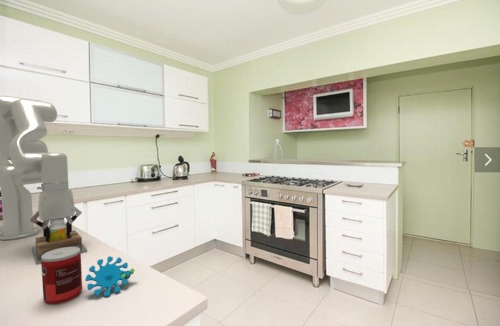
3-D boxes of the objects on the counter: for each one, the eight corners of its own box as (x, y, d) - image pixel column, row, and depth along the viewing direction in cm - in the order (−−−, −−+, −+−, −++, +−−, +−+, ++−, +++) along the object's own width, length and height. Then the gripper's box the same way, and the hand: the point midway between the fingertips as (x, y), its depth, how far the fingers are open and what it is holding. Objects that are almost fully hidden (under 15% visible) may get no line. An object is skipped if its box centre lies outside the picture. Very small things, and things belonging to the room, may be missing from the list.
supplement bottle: (47, 249, 87) (45, 221, 86) (51, 243, 91) (49, 218, 91) (66, 246, 89) (64, 219, 89) (69, 241, 94) (67, 216, 93)
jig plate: (32, 249, 92) (31, 242, 92) (77, 239, 102) (76, 232, 101) (36, 264, 79) (35, 256, 79) (87, 251, 89) (86, 244, 89)
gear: (82, 298, 58) (88, 256, 64) (82, 306, 61) (88, 266, 67) (134, 290, 63) (135, 253, 69) (131, 298, 66) (132, 262, 73)
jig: (36, 248, 90) (35, 238, 90) (75, 240, 99) (75, 230, 99) (39, 258, 82) (38, 246, 82) (82, 248, 90) (81, 237, 90)
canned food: (57, 287, 65) (55, 247, 65) (89, 286, 66) (87, 245, 65) (34, 306, 57) (31, 260, 57) (70, 303, 58) (68, 258, 58)
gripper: (24, 191, 81) (27, 245, 81) (85, 185, 93) (88, 232, 94) (23, 188, 86) (26, 239, 87) (81, 183, 98) (83, 228, 99)
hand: (58, 235), depth 90 cm, fingers closed on supplement bottle, 5 cm apart
